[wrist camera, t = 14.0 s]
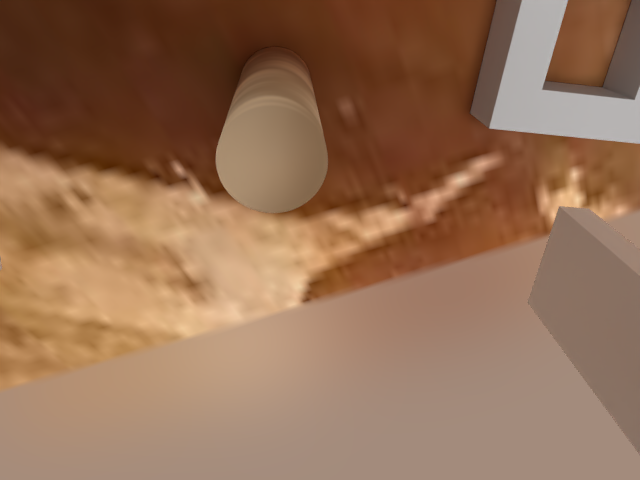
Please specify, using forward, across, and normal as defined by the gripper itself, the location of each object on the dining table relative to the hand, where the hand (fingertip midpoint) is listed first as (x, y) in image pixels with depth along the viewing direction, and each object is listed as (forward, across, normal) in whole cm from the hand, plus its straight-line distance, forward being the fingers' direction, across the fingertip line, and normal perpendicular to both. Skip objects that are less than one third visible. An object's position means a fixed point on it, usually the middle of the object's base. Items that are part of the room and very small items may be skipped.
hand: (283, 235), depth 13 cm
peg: (+17, 0, 0) cm, 17 cm away
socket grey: (+18, +15, +4) cm, 23 cm away
